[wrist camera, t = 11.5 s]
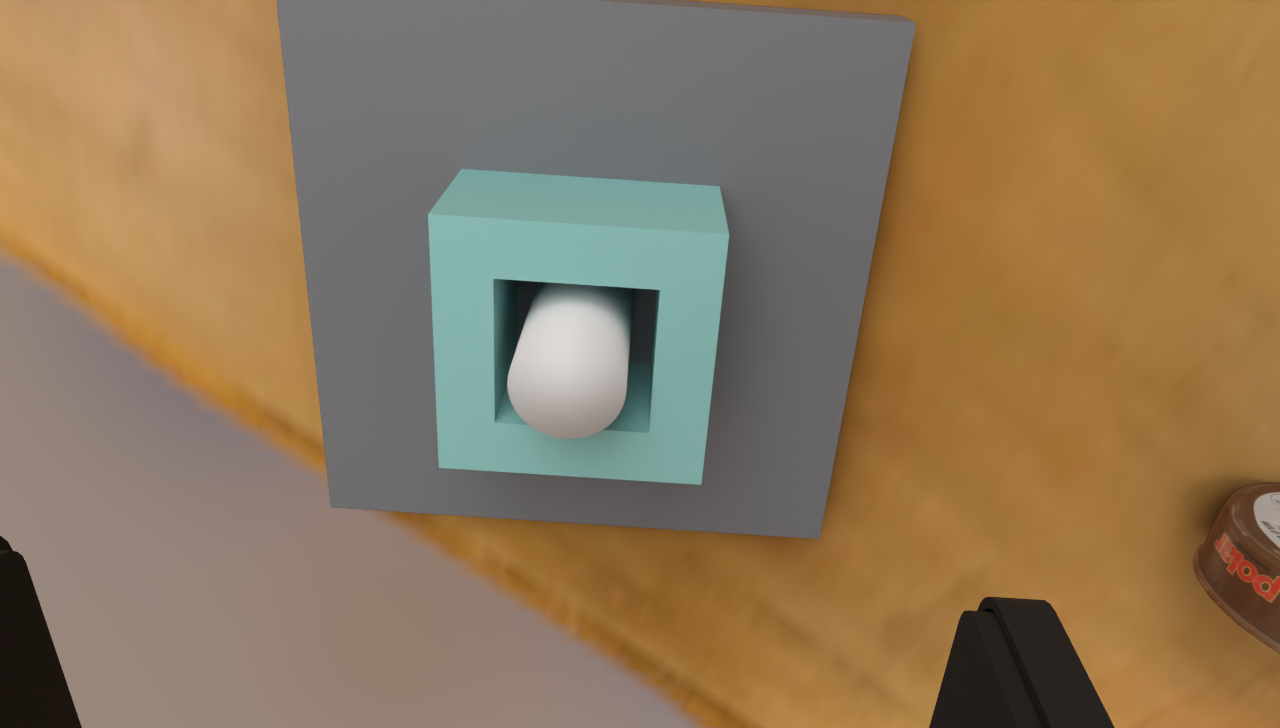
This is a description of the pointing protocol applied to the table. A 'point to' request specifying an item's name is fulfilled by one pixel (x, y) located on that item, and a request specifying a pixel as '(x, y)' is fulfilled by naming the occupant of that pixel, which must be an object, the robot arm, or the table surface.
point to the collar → (586, 255)
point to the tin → (1246, 561)
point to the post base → (604, 126)
